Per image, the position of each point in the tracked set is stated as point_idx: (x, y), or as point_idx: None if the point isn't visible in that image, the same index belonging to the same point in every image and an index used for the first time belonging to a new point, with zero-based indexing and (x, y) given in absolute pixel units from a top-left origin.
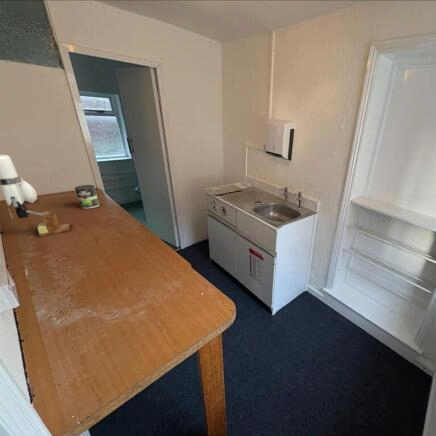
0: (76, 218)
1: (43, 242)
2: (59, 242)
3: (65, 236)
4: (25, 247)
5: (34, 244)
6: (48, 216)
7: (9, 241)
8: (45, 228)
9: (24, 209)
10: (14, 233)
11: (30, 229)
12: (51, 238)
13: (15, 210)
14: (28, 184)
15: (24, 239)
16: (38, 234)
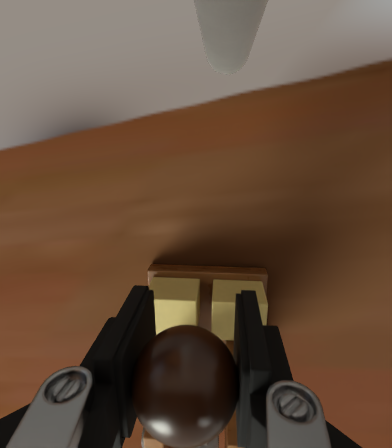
0: (368, 418)
1: (42, 284)
2: (10, 341)
3: (80, 363)
4: (8, 216)
5: (33, 250)
6: (143, 441)
7: (154, 123)
8: None
9: (117, 444)
10: (314, 126)
11: (333, 211)
12: (84, 313)
13: (45, 381)
14: None
15: (143, 198)
16: (147, 271)
